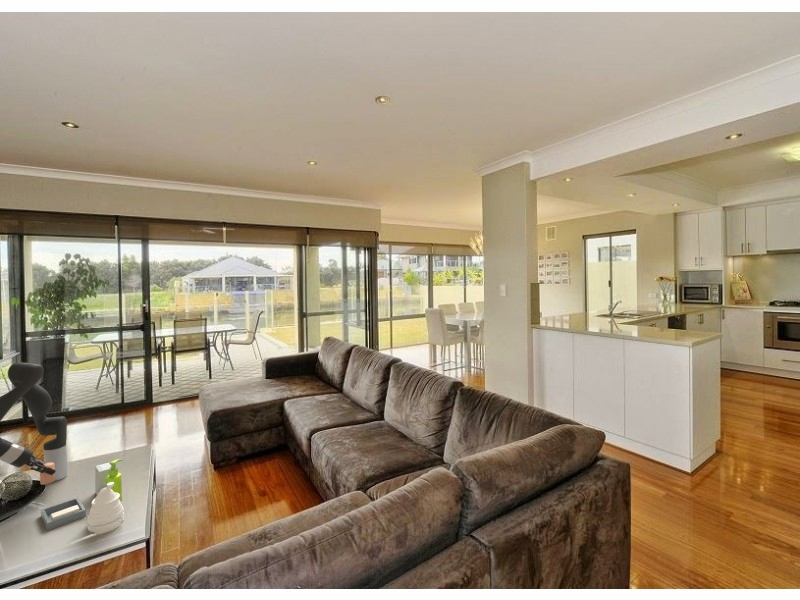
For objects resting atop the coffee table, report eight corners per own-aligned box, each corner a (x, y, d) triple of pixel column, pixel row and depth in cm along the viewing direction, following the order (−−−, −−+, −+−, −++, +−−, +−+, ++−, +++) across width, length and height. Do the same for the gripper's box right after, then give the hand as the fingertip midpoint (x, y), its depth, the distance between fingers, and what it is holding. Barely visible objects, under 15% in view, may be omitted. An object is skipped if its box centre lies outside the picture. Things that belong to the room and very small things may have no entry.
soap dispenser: (127, 498, 190) (125, 459, 189) (112, 506, 183) (111, 465, 182) (118, 496, 192) (117, 457, 190) (104, 503, 185) (102, 463, 184)
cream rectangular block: (51, 522, 169) (50, 513, 169) (77, 513, 176) (77, 504, 176) (53, 526, 167) (52, 517, 166) (79, 516, 174) (79, 508, 173)
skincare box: (95, 494, 193) (94, 465, 192) (109, 489, 197) (108, 461, 196) (99, 501, 187) (98, 471, 186) (114, 495, 192) (113, 467, 191)
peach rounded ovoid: (39, 481, 179) (38, 465, 178) (53, 477, 183) (53, 461, 182) (41, 485, 176) (40, 468, 175) (55, 481, 180) (55, 464, 179)
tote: (41, 518, 174) (40, 509, 174) (78, 505, 184) (77, 497, 184) (47, 532, 164) (47, 523, 164) (86, 517, 174) (85, 509, 174)
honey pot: (122, 512, 179) (120, 474, 178) (126, 525, 170) (124, 485, 168) (86, 523, 170) (84, 484, 169) (88, 538, 161) (87, 497, 160)
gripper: (26, 452, 168) (63, 468, 178) (21, 442, 177) (56, 458, 187) (9, 468, 164) (48, 484, 174) (5, 457, 173) (42, 473, 183)
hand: (52, 470), depth 180 cm, fingers closed on peach rounded ovoid, 5 cm apart
